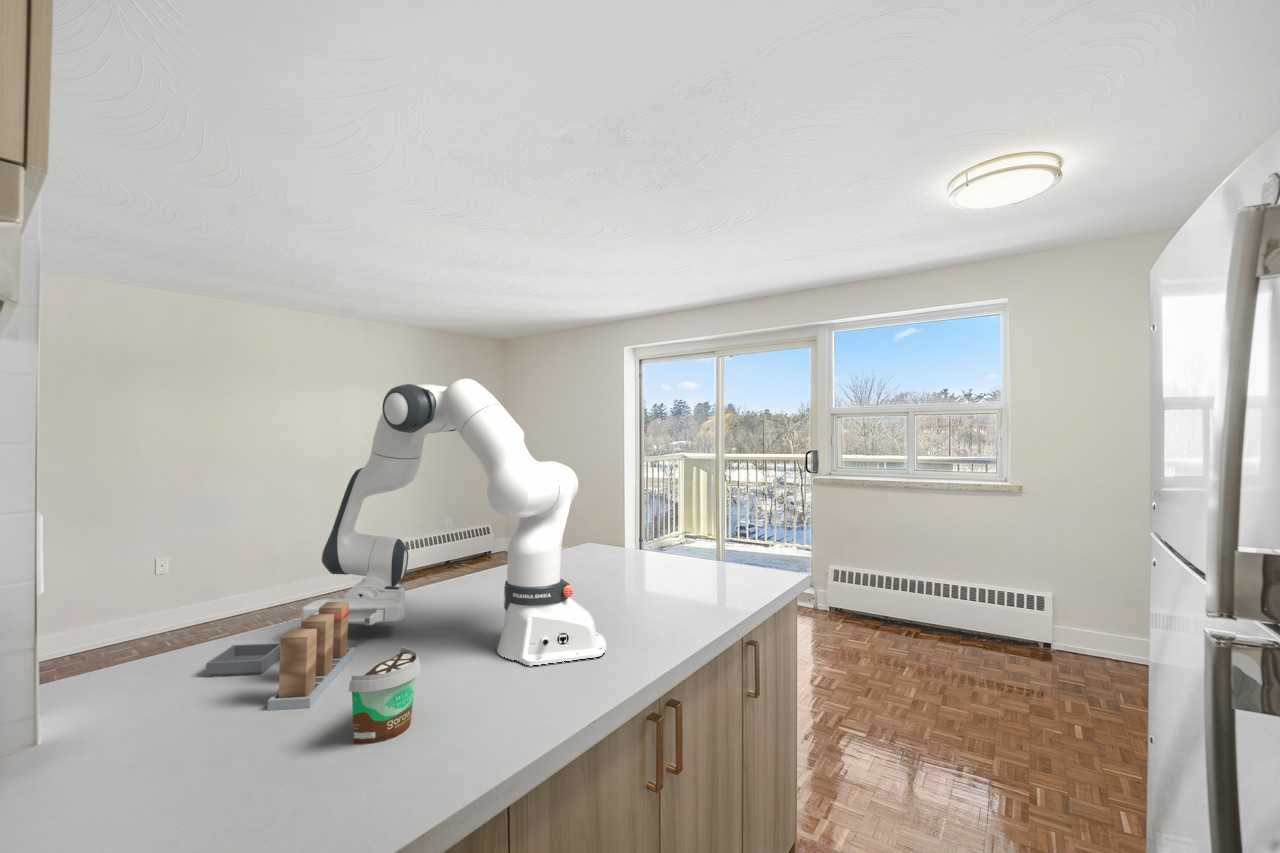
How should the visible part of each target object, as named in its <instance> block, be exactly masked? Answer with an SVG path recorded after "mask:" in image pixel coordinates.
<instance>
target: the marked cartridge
mask: <svg viewBox="0 0 1280 853" xmlns="http://www.w3.org/2000/svg"><path fill="white" fill-rule="evenodd" d="M321 614H334V633H333V659H342V658H343V657H344V656H345V655H346V654H347V648H348V638H349V636H348V634H349V623H348V615H349V602H326V603H325V604H324V605H323V606H321V607H320V608H319V613H318V615H321Z"/></svg>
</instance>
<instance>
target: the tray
mask: <svg viewBox="0 0 1280 853" xmlns="http://www.w3.org/2000/svg"><path fill="white" fill-rule="evenodd" d="M278 661H280V642H278V643H277V642H276V643H275V642H273V643H270V642H269V643H252V644H251V643H250V644H249V643H246V644H232V645H231V646H230V647H228V648H226V649H225V650H223V652H221V653H219V654H218V655H217V656H214V657H213V658H212V659H210V660H209V661H207V662H206V665H205V678H210V677H209V676H221V677H238V676H239V675H242V676H257V675H259V676H260V675H263V674H264V673H265V672H266V671H267V670H268V669H270V668H271V667H272V666H273V665H274V664H276V662H278ZM234 675H235V676H234ZM239 677H240V676H239Z"/></svg>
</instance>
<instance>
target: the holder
mask: <svg viewBox="0 0 1280 853" xmlns="http://www.w3.org/2000/svg"><path fill="white" fill-rule="evenodd" d="M355 653H356V647H347V654H346V655H345V656H344V657H343V658H342V659H333V664H332V670H331V671H330V672H329V674H328V675H327V676H319V677H315V689H314V690H313V691H312V692H311V694H310V695H309V696H308V697H295V698H278V697H279V689H278V690H277V691H276V692H275V693H274V694H273V695H272V696H271V697H270V698H269V699H268V700H267V707H266V708H267V711H274V710H276V711H278V710H293V709H309V708H311V707H312V706H313V705H314V704H315V702H316V701H317V700H318V699H319V698H320V697H321V695H323V693H324V692H325V690H326V689H327V688H329V686H330V685H331V684H332V682H334V680H335V679H336V678H337V676H338V675H339V674H340V673H341V672H342V671H343V669H344V668H345V667H346V666H347V665H348V664H349V663H350V661H351V660H352V659H353V658H354V656H355V655H356V654H355Z"/></svg>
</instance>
